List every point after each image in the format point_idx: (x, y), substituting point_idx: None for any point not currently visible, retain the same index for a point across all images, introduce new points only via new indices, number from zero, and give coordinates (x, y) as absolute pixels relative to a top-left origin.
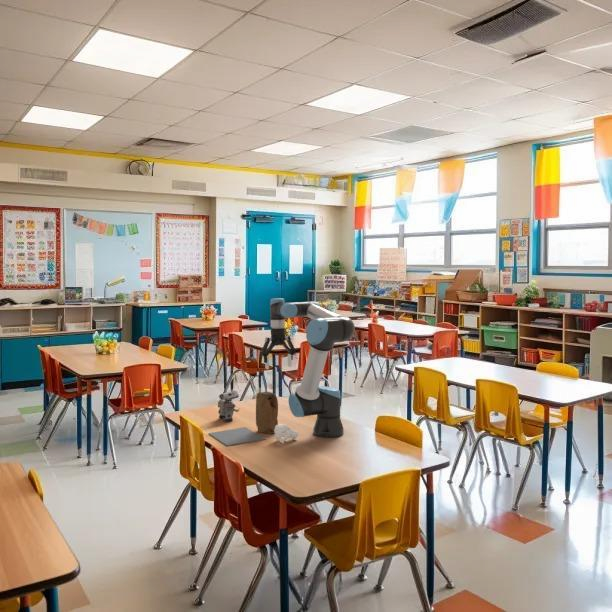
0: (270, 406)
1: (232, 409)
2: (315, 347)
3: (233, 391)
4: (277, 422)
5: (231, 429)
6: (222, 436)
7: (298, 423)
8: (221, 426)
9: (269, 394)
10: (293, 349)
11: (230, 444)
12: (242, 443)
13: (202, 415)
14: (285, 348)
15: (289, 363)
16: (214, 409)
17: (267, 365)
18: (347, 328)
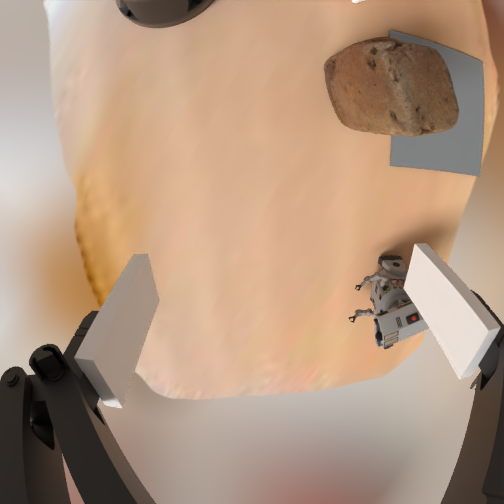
0: (398, 41)
1: (389, 279)
2: None
3: (390, 338)
4: (332, 57)
5: (431, 168)
6: (470, 127)
7: (200, 120)
8: (427, 222)
9: (426, 47)
10: (14, 414)
11: (475, 59)
12: (449, 48)
13: None
14: (143, 490)
15: (141, 292)
16: (348, 365)
17: (444, 267)
18: None
